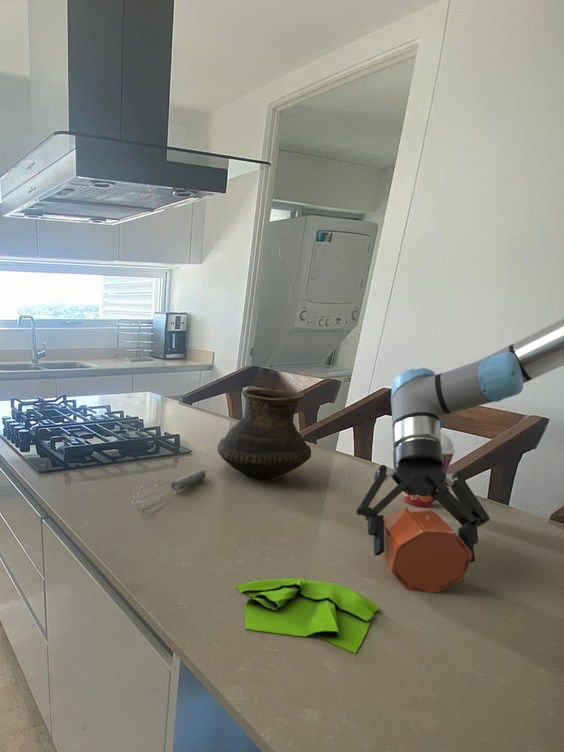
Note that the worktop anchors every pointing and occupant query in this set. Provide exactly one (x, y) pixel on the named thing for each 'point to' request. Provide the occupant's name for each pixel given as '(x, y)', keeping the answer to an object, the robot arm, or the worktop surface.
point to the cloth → (308, 610)
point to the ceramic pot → (266, 436)
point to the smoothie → (447, 457)
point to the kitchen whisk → (176, 485)
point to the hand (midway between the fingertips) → (422, 558)
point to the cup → (424, 550)
